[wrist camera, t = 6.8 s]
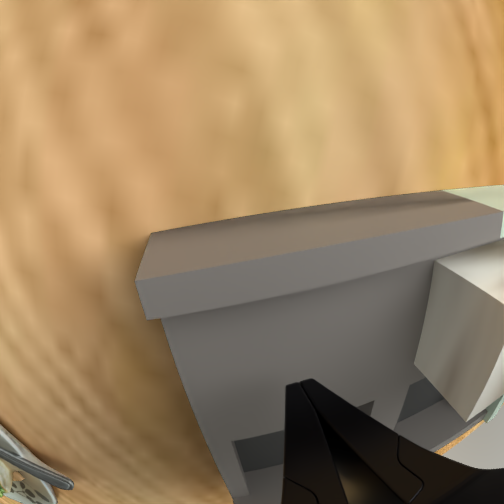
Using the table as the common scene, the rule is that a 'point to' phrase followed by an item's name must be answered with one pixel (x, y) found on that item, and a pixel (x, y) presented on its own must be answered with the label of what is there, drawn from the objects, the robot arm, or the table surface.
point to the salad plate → (27, 474)
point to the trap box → (310, 318)
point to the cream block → (466, 329)
